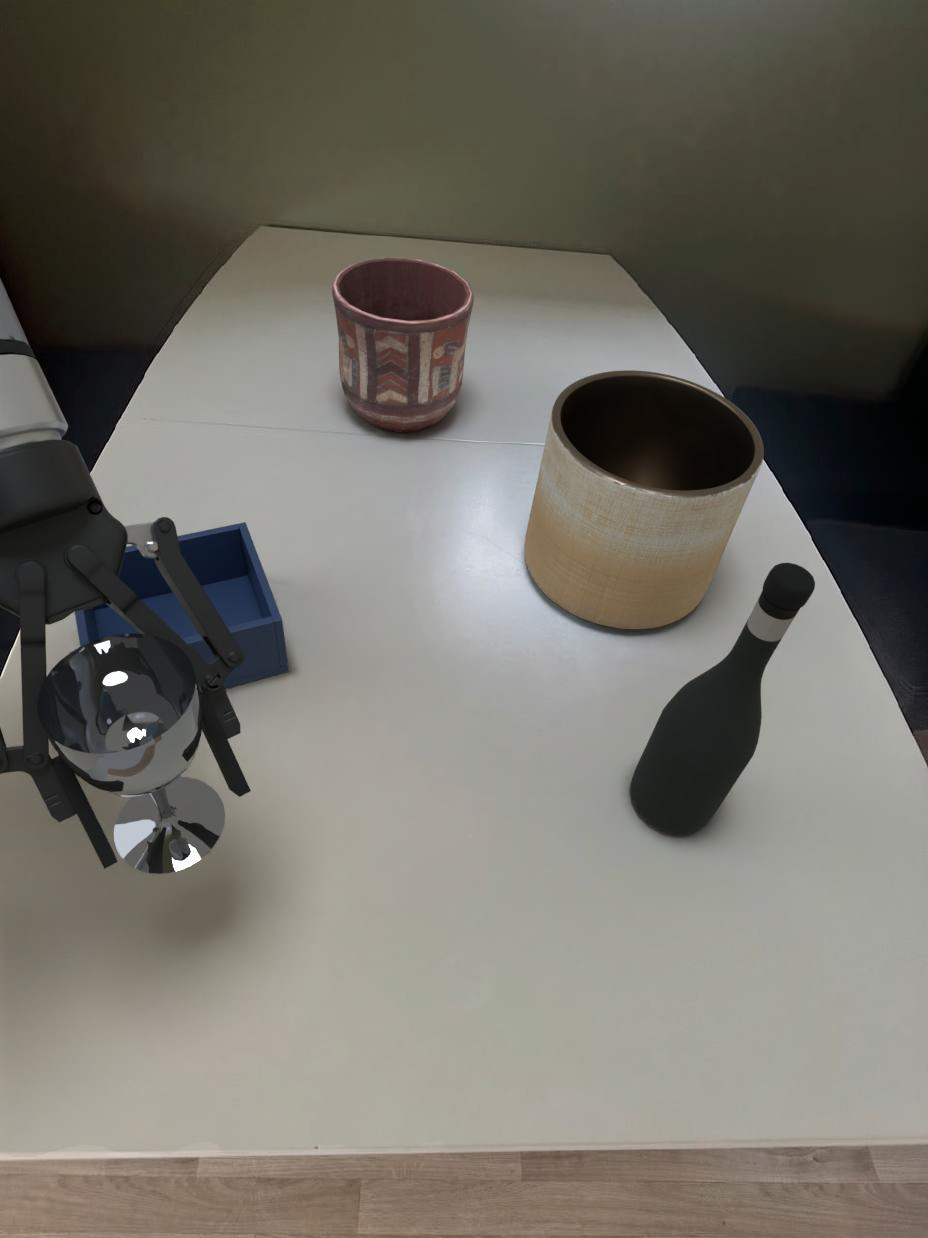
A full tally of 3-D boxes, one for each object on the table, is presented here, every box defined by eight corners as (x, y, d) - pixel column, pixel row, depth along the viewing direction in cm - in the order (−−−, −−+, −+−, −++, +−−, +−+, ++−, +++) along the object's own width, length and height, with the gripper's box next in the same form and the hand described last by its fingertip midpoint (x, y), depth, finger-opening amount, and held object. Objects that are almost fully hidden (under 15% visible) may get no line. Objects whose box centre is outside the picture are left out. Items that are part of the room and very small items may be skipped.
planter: (743, 598, 94) (813, 460, 79) (594, 664, 86) (641, 523, 71) (627, 489, 106) (669, 351, 91) (487, 537, 97) (508, 393, 83)
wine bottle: (638, 751, 79) (743, 521, 56) (718, 780, 77) (857, 556, 55) (619, 819, 73) (725, 596, 51) (703, 852, 72) (851, 637, 50)
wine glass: (116, 899, 50) (43, 774, 39) (99, 792, 54) (30, 654, 43) (243, 855, 52) (210, 727, 41) (217, 757, 57) (180, 618, 46)
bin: (106, 721, 76) (83, 669, 70) (87, 613, 84) (65, 558, 78) (288, 671, 81) (282, 619, 76) (253, 575, 90) (245, 521, 84)
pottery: (353, 454, 106) (351, 328, 93) (325, 382, 117) (319, 259, 103) (478, 438, 111) (493, 315, 97) (440, 370, 122) (448, 251, 108)
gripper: (171, 421, 52) (308, 738, 55) (-199, 529, 42) (-2, 899, 46) (192, 390, 45) (346, 751, 49) (-240, 510, 36) (-7, 942, 40)
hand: (176, 823), depth 48 cm, fingers closed on wine glass, 7 cm apart
